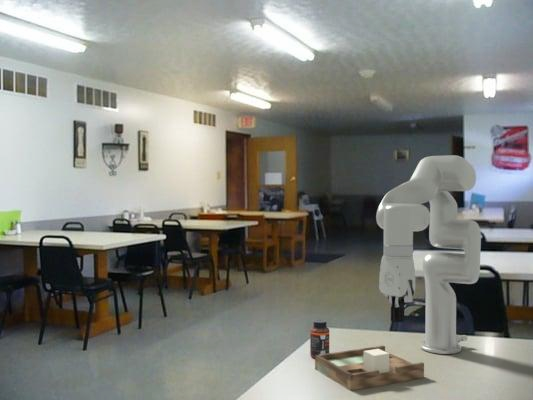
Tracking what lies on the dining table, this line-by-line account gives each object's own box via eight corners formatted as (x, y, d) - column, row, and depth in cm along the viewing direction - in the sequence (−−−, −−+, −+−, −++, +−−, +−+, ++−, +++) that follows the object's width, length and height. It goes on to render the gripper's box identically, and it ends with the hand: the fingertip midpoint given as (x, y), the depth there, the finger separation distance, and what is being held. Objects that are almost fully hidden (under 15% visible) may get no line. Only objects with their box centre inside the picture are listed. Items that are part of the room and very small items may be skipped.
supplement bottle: (328, 360, 171) (328, 323, 171) (309, 359, 172) (309, 322, 172) (330, 354, 177) (330, 319, 177) (311, 353, 178) (311, 318, 178)
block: (378, 366, 158) (378, 348, 157) (389, 371, 153) (389, 353, 153) (363, 368, 155) (363, 350, 155) (374, 374, 151) (374, 355, 151)
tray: (383, 358, 173) (383, 345, 173) (423, 377, 156) (424, 363, 155) (315, 368, 163) (315, 355, 163) (350, 390, 146) (350, 375, 146)
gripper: (369, 249, 152) (369, 316, 152) (404, 255, 138) (403, 329, 138) (392, 248, 155) (392, 314, 155) (428, 254, 141) (427, 326, 141)
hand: (397, 321), depth 147 cm, fingers closed
